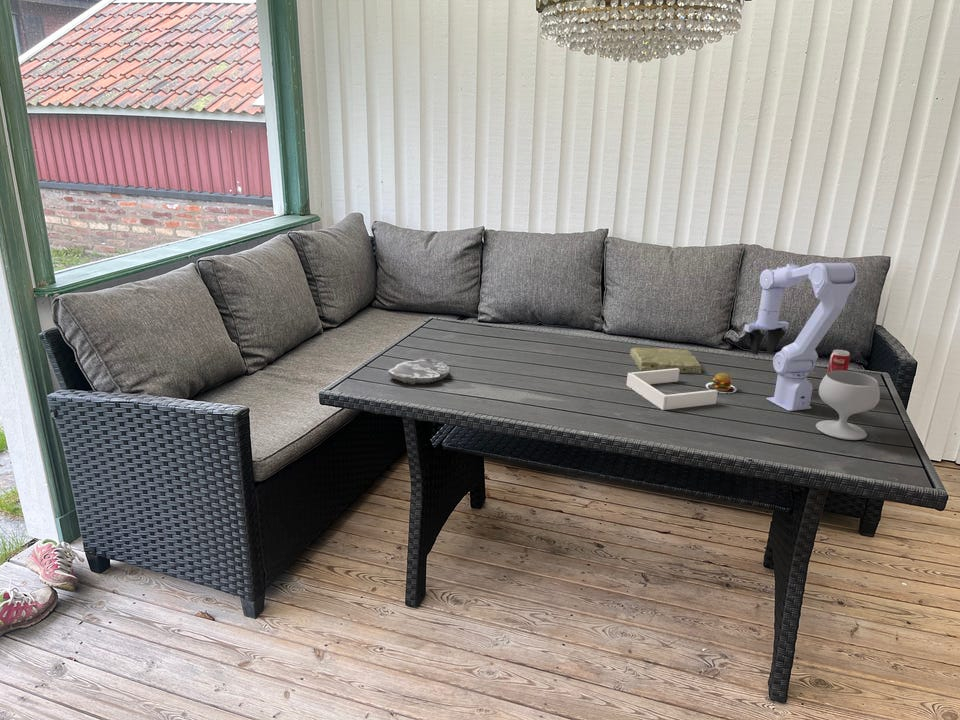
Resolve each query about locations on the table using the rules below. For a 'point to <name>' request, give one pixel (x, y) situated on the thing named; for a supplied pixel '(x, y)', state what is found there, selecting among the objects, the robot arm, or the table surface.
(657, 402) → the box
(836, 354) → the soda can
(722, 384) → the hamburger
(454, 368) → the table surface
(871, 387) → the chalice
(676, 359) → the decorative tile
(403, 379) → the brain slice
